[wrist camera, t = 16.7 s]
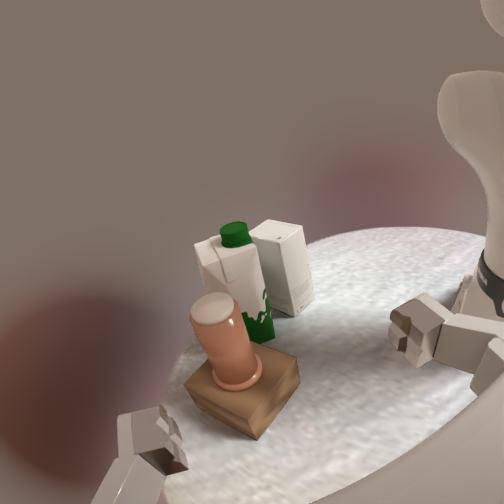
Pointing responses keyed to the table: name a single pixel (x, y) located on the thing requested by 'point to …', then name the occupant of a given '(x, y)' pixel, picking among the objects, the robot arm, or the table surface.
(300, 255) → the skincare box
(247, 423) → the block
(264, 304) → the milk carton
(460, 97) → the robot arm
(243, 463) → the table surface
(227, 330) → the canister
